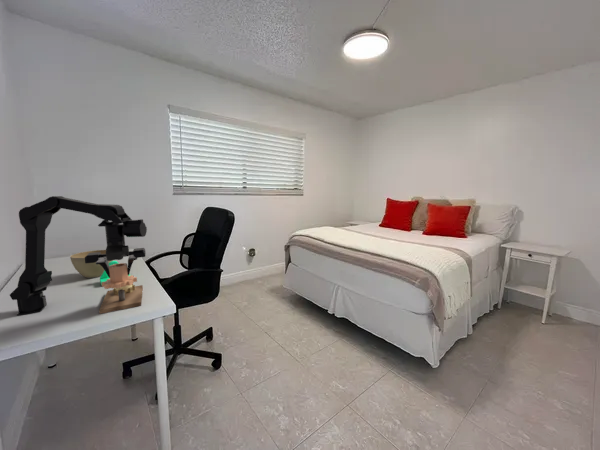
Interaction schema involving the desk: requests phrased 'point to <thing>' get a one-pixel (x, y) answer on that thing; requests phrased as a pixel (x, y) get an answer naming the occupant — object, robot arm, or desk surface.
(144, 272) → the desk surface
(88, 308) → the desk surface
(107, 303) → the carrier
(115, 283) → the gear
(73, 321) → the desk surface
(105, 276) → the camera mount
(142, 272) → the desk surface
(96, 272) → the tan bowl
